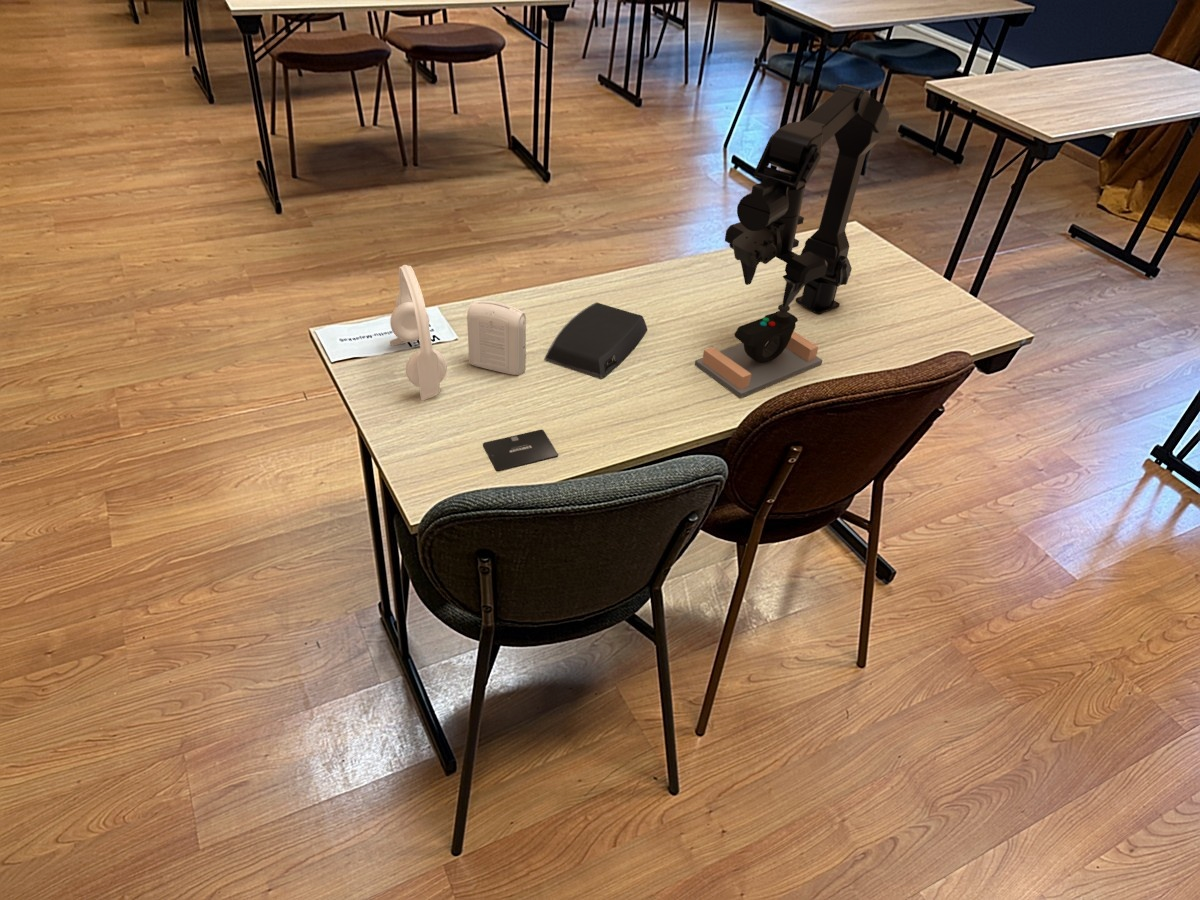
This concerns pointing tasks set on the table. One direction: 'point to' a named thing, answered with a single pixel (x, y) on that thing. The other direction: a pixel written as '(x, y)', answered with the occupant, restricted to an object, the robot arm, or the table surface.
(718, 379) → the dock
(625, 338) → the external hard drive
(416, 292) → the headset
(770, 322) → the controller
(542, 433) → the solid state drive
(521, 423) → the table surface
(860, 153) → the robot arm
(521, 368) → the photo printer
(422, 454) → the table surface
